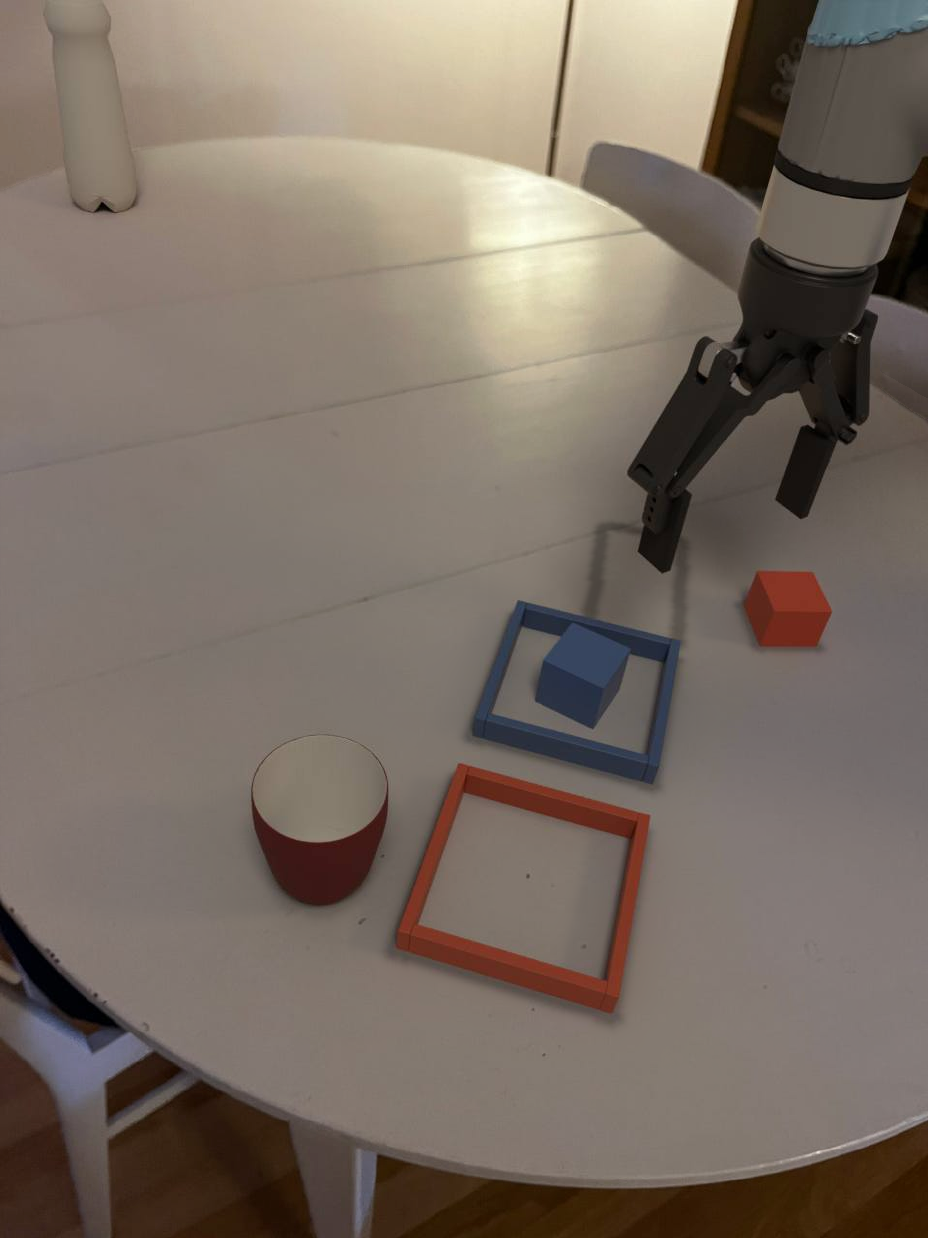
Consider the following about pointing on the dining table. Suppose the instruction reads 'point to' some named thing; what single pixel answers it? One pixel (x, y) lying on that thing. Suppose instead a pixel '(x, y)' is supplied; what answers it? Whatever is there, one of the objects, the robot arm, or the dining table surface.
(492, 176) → the dining table surface
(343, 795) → the mug
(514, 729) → the blue square frame
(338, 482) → the dining table surface
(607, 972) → the red tray
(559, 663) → the blue block
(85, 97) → the bottle
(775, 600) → the red block
